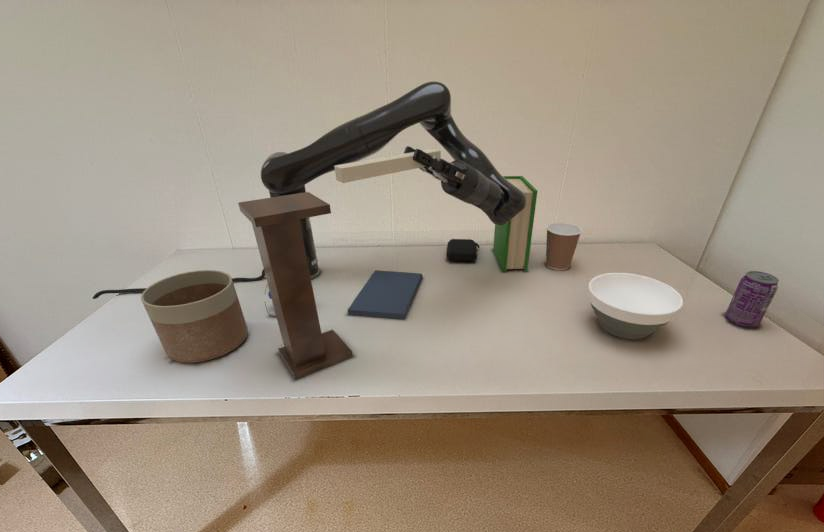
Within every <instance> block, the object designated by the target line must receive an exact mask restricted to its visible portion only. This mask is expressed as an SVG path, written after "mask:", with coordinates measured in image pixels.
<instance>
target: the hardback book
mask: <svg viewBox="0 0 824 532" xmlns="http://www.w3.org/2000/svg"><path fill="white" fill-rule="evenodd" d="M502 176H503V177H504V178H505V179H506V180H508V181H509V182H510V183H512V184H513V185H514V186H516V187H517V188H519V189H520V190H521V191H522V192H523V193H524V195H525V196H526V201H527V204H526V207H525V208H524V209H523V210H522V211H521V212H519V213H518V214H517V215H516V216H515V217H513V218H512V219H511V220H510V221H509V222H507V223H506V224H504V225H495V224H494V233H493V246H492V247H493V249H492V250H493V252H494V255H495V257H496V259H497V261H498V264H499V266H500V269H501V271H502V273H507V270H523V272H528V268H529V262H530V254H531V246H532V236H533V229H534V222H535V215H536V214H535V213H536V205H537V199H538V189H536V187H534V185H532V184H531V183H530V181H528V180H527V179H526V178H525V177H524V176H523V175H502Z"/></svg>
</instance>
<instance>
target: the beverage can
mask: <svg viewBox="0 0 824 532" xmlns="http://www.w3.org/2000/svg"><path fill="white" fill-rule="evenodd" d="M779 282H780V279H779V278H778V277H777V276H775V275H773V274H770V273H768V272H764V271H759V270H748V271H746V273H745V275H743V276H742V277H741V278H740V280H739V282H738V285H737V287H736V289H735V291H734V294H733V296H732V298H731V299H730V302H729V304H728V306H727V309H726V311H725V314H724V315H725V317H726V318H727V319H728V320H729V321H730V322H732V323H734V324H736V325H738V326H741V327H746V328H747V327H757V326H759V325H761V323H762V321H763V319H764V317H765V315H766V313H767V311H768V309H769V307H770V305H771V304H772V302H773V299H774V298H775V295H776V293H777V292H778V289H779V286H778V283H779Z"/></svg>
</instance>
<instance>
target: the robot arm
mask: <svg viewBox="0 0 824 532" xmlns="http://www.w3.org/2000/svg"><path fill="white" fill-rule="evenodd" d="M418 124H420V126H421V127H422V128H423V129H424V130H425V131H426V132H427V134H429V135H430V136H431V137H432V138H434V140H436V142H438V144H439V145H440V146H441V147H442V148H443V149H444V150H445V151H446V152H447V153H448V155H449V156H450V157H451V159H453V161H451V162H449V161H447V160H445V159H444V158H439V159H438V158H436V157H435V156H430V155H428V154H427V153H425V152H423V151H422V149H420V148H416V149H415V148H413V147H412V146H408V145H407V146H405V148H404V151H403V154H405V153H411V152H414V155H413V160H414V161H416V162H418V163H420V164H422V165H423V166H425V167H421V168H418V169H420V170H421V171H422V172H423V173H426V174H428V175H429V176H432V178H433V179H435V180H437V181H439V182H440V185H441V189H442V190H443V192H444V193H446V194H447V195H449V196H451V197H453V198H455V199H457V200H458V201H461V202H463V203H465V204H469V205H472V206H474V207H476V208H477V209H480V210H481V211H482V212H483V213H484V214H485V215H486V216H487V218H488V219H489V220H490V222H491V223H493V224H494V226H495V225H504V224H506V223H507V222H509V221H510V220H511V219H512V218H513V217H515V216H516V215H517V214H518V213H519V212H521V211H522V210H523V209H524V208H525V207H526V204H527V201H526V196H525V195H524V193H523V192H522V191H521V190H520V189H519V188H517V187H516V186H514V185H513V184H512V183H510V182H509V181H508V180H506V179H505V178H504V177H503V176H504V175H502V174H501V173H500V171H498V169H497V168H496V166H495V165H494V163H492V161H491V160H490V159H489V157H488V156H487V155H486V153H484V151H483V150H482V149H481V148H480V147H478V146H477V145H476V144H475V143H473V142H472V141H471V140H469V139H468V138H467V137H466V136H465V135H464V134H463V133H462V131H461V129H460V128H459V127H458V125H457V123H456V122H455V120H454V117H453V115H452V96H451V91H450V89H449V87H448V86H447V85H445V84H444V83H443V82H441V81H435V80H434V81H427V82H425V83H422V84H420V85H418V86H416V87H414V88H413V89H411V90H410V91H408V92H406V93H405V94H403V95H401V96H400V97H398V98H397V99H394V100H392V101H391V102H389V103H387V104H384V105H382V106H379V107H377V108H376V109H373V110H371V111H369V112H367V113H365V114H363V115H359V116H357V117H355V118H353V119H350V120H348V121H346V122H343V123H342V124H339V125H338V126H336V127H334V128H333V129H331V130H329V131H328V132H326V133H324V134H323V135H322V136H320V137H319V138H317V139H316V140H315V141H313V142H312V143H310V144H309V145H307V146H304V147H303V148H300V149H297V150H294V151H291V152H288V153H287V152H285V151H277V152H274V153H271V154H270V155H269V156H267V157H266V159H265V161H264V162H263V164H261V168H260V180H261V182H262V185H263V186H264V187H265V189H266V190H268V193H269V198H271V197H278V196H284V195H291V194H298V193H304V192H307V189H306V185H307V184H309V183H310V182H312V181H314V180H316V179H318V178H319V177H321V176H323V175H326V174H329V173H332V172H335V167H334V166H335V165H341V164H347V163H353V162H358V161H363V160H365V159H366V158H369V157H371V156H374V155H375V154H377V153H379V152H380V151H381V150H383V149H384V148H385V147H386V146H387V145H389V143H390V142H392V141H393V140H394V139H395V137H397V136H398V135H399V134H400V133H402V132H403V131H404V130H406V129H408V128H410V127H412V126H414V125H418ZM310 218H311V217H309V218H303V219H299V221H300V227H301V232H302V237H303V242H304V247H305V252H306V257H307V262H308V267H309V272H310V277H311V280H313V279H314V278H316V277H318V276H319V275H320V273H321V272H320V271H321V270H320V266H319V262H318V261H319V260H318V256H317V250H316V244H315V239H314V234H313V229H312V224H311V219H310ZM231 278H232V280H233V283H234V282H256V281H261V280H263V279H264V278H266V275H265V272H264V268H263V269H262V270H261V275H259V276H258V277H253V278H252V277H231ZM147 288H148V287H145V288H144V287H142V288H141V287H140V288H123V289H122V288H121V289H104V290H100V291H98V292H95V294H94V295H93V296H92V300H95V299H96V300H97V299H98V298H99V297H100V296H102V295H105V294H125V293H127V294H128V293H143V292H144V291H145V290H146V289H147Z"/></svg>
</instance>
